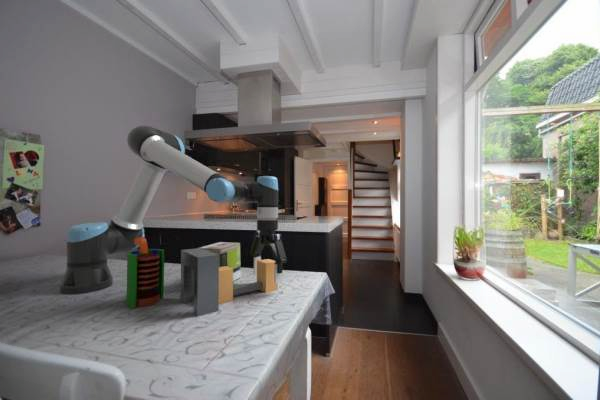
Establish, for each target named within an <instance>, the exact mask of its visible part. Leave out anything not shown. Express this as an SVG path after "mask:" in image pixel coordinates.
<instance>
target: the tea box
mask: <svg viewBox="0 0 600 400" xmlns="http://www.w3.org/2000/svg"><path fill="white" fill-rule="evenodd" d="M199 248H201V249H204V250H207V251H210V252H213V253H216V254H218V255H219V267H223V266H227V267H230V268H232V269H233V282H235V281H237V280H238V279H241V277H242V271H241V269H242V268H241V243H240V242H232V241H231V242H225V241H224V242H223V241H219V242H214V243H211V244H208V245H203V246H201V247H200V246H199Z"/></svg>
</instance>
